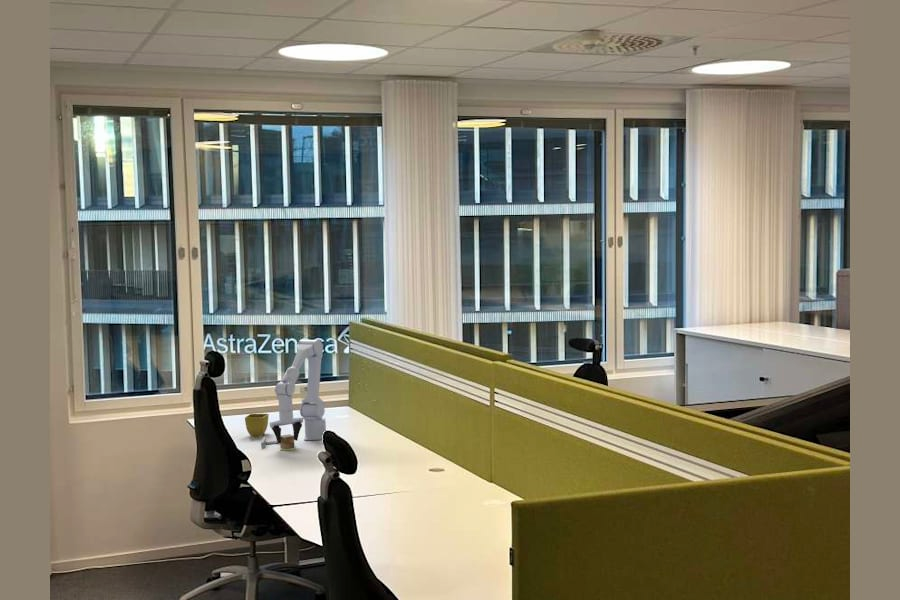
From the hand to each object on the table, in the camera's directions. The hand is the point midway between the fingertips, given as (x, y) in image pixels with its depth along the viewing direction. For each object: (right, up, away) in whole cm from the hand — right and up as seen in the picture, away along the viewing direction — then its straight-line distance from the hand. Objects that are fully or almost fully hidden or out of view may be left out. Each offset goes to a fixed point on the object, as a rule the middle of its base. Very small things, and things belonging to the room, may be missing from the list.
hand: (287, 441), depth 391 cm
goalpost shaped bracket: (-8, -3, +8) cm, 11 cm away
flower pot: (-19, -2, +29) cm, 35 cm away
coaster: (0, -3, 0) cm, 3 cm away
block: (0, -3, +1) cm, 3 cm away
